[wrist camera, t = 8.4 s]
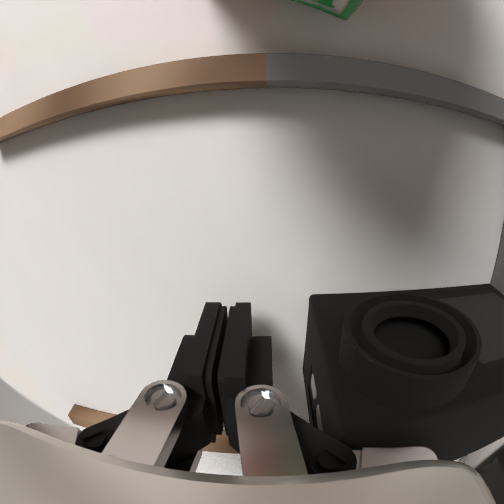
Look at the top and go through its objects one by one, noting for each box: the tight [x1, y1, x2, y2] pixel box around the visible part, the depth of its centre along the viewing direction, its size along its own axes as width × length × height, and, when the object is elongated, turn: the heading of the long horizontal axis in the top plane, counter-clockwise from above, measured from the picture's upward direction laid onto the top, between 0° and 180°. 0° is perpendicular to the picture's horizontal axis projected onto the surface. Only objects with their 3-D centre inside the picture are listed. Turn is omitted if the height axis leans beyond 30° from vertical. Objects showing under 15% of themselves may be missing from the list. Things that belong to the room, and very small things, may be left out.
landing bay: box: [265, 53, 504, 295], centre depth 12 cm, size 13×20×1 cm, turn 1°
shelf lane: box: [0, 53, 266, 453], centre depth 12 cm, size 14×20×1 cm
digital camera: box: [303, 284, 504, 461], centre depth 9 cm, size 10×5×7 cm, turn 91°
